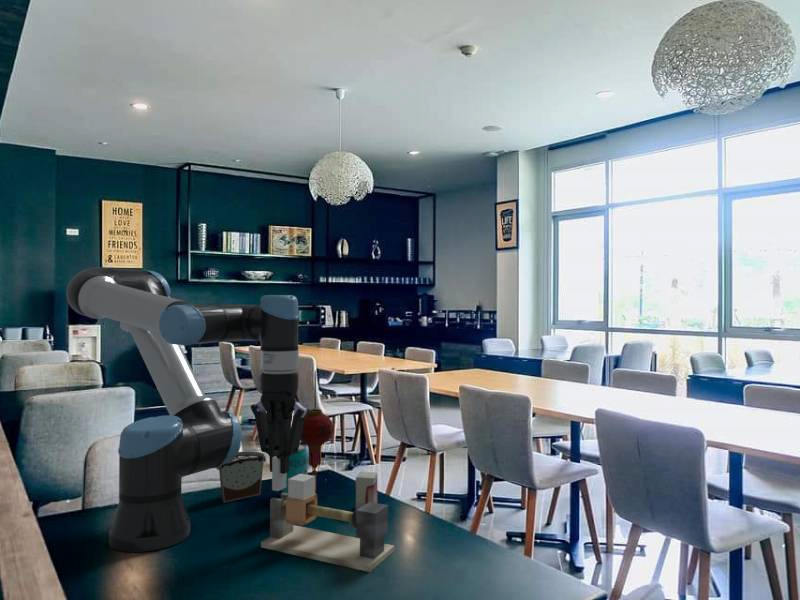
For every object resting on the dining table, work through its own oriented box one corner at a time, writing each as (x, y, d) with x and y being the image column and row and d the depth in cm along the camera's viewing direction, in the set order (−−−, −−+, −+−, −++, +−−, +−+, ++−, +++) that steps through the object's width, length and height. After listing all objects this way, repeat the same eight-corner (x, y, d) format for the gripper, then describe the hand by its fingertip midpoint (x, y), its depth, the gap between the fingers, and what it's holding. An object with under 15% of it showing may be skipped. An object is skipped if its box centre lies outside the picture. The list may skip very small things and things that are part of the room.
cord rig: (260, 547, 115) (261, 498, 115) (291, 529, 124) (291, 484, 124) (369, 572, 105) (370, 518, 105) (394, 550, 114) (394, 501, 114)
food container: (254, 487, 152) (254, 448, 152) (265, 493, 147) (266, 453, 147) (207, 497, 144) (208, 456, 144) (217, 504, 139) (218, 461, 139)
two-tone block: (286, 522, 116) (286, 479, 116) (300, 514, 120) (300, 472, 120) (303, 525, 114) (303, 482, 114) (317, 517, 118) (317, 475, 118)
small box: (373, 513, 134) (374, 478, 134) (355, 512, 135) (355, 477, 135) (377, 505, 139) (377, 471, 139) (359, 504, 140) (359, 471, 140)
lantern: (320, 480, 158) (321, 368, 158) (340, 489, 151) (341, 371, 151) (288, 487, 152) (289, 370, 152) (308, 497, 145) (309, 374, 145)
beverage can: (302, 519, 130) (302, 450, 130) (277, 516, 131) (277, 449, 131) (311, 510, 136) (311, 444, 136) (287, 508, 137) (287, 443, 137)
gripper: (241, 371, 119) (241, 489, 119) (295, 375, 113) (295, 498, 113) (265, 368, 126) (265, 479, 126) (317, 371, 120) (316, 487, 120)
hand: (279, 488), depth 119 cm, fingers closed
